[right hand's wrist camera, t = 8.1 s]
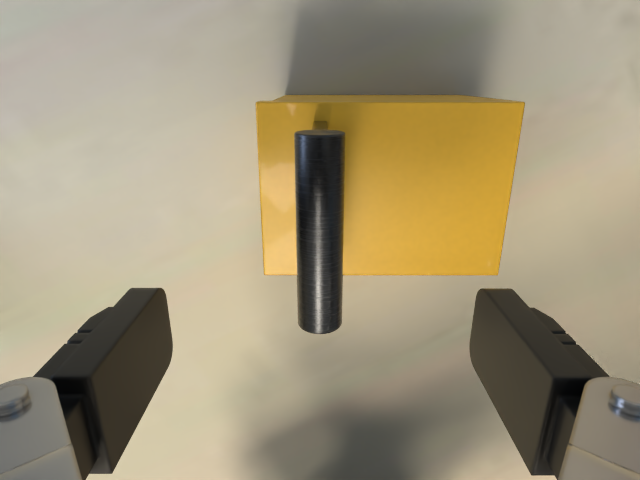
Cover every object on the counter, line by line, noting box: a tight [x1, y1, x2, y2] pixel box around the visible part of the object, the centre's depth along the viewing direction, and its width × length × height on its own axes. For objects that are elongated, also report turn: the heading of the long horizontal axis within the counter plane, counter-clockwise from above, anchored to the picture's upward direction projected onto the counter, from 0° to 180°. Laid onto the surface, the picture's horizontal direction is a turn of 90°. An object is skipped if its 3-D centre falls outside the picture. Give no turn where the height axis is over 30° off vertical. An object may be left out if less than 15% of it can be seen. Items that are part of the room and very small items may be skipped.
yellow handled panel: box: [256, 101, 525, 334], centre depth 20 cm, size 14×10×9 cm
